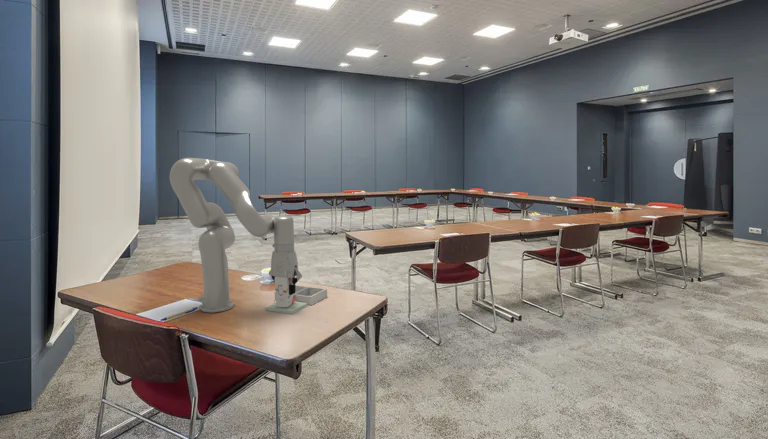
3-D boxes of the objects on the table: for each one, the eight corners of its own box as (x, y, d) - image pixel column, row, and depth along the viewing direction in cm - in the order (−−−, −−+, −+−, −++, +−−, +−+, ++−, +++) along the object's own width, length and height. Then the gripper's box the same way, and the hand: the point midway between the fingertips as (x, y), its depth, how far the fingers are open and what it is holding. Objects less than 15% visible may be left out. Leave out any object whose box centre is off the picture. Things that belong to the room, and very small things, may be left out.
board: (266, 310, 168) (266, 307, 168) (282, 302, 178) (282, 299, 178) (291, 314, 163) (291, 311, 163) (307, 306, 173) (307, 303, 173)
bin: (274, 300, 181) (274, 292, 180) (292, 292, 192) (292, 284, 192) (310, 305, 174) (310, 297, 173) (327, 296, 185) (327, 288, 185)
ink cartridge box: (284, 300, 175) (283, 264, 173) (296, 301, 174) (295, 265, 172) (275, 306, 167) (273, 269, 165) (287, 307, 166) (286, 270, 164)
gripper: (260, 247, 168) (261, 293, 170) (297, 251, 161) (298, 298, 163) (272, 244, 174) (273, 288, 177) (308, 247, 168) (309, 293, 170)
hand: (285, 292), depth 170 cm, fingers closed on ink cartridge box, 5 cm apart
